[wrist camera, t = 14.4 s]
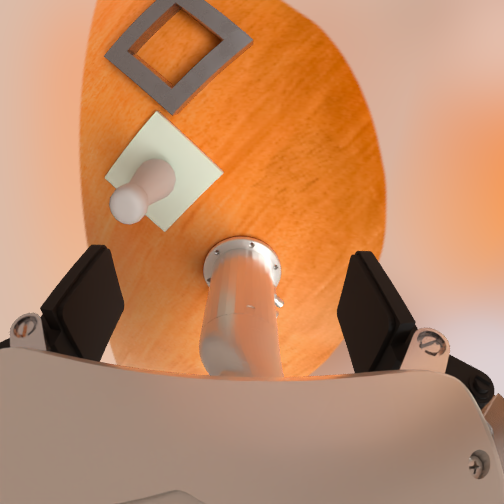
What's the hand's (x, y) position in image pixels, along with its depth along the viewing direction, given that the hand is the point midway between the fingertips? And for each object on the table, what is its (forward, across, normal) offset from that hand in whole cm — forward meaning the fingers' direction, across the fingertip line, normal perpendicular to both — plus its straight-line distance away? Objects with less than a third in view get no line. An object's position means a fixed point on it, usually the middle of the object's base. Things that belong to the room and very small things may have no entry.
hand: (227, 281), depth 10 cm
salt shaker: (+30, +12, +4) cm, 32 cm away
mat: (+30, +12, +4) cm, 33 cm away
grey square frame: (+30, +9, -15) cm, 35 cm away
